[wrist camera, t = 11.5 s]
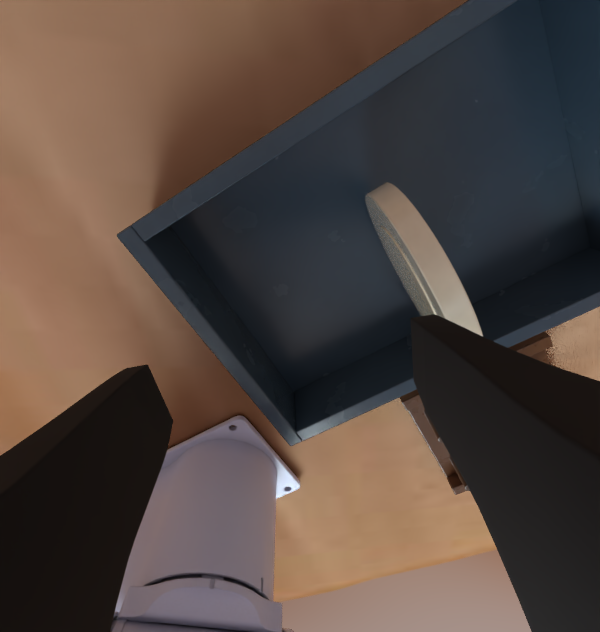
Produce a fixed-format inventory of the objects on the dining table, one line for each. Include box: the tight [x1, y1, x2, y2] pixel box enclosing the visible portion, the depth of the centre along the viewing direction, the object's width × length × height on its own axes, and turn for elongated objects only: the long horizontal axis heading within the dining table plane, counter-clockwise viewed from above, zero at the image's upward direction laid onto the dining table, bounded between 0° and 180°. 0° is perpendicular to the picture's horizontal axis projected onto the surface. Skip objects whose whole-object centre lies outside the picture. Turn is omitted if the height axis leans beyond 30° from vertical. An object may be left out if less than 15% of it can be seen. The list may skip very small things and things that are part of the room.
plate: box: [365, 182, 483, 336], centre depth 15 cm, size 1×8×8 cm, turn 31°
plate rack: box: [400, 332, 553, 495], centre depth 23 cm, size 9×10×3 cm
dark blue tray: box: [117, 0, 600, 446], centre depth 17 cm, size 20×14×4 cm
